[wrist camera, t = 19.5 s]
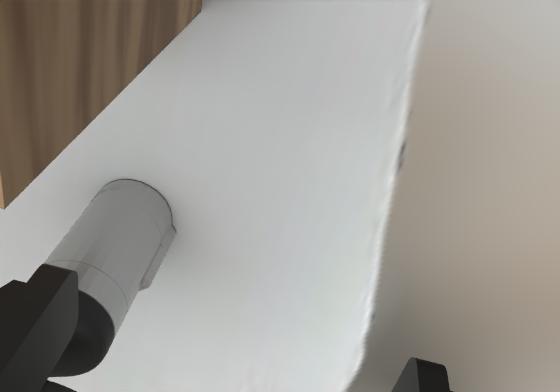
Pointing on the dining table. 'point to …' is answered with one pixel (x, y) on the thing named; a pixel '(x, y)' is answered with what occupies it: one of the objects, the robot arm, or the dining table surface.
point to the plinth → (70, 71)
